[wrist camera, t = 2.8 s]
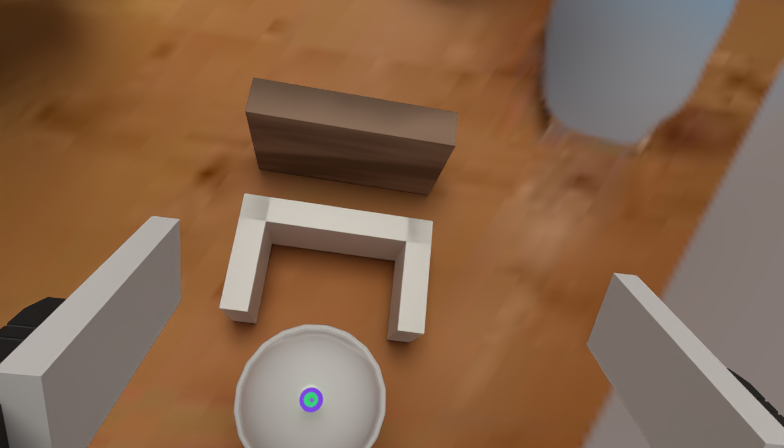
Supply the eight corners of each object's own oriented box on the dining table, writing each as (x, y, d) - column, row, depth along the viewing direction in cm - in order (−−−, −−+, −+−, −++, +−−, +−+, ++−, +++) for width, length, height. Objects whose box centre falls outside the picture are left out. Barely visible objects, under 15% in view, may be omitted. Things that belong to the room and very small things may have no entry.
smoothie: (320, 480, 39) (326, 552, 20) (237, 413, 40) (168, 423, 21) (384, 388, 42) (439, 378, 23) (305, 327, 43) (297, 269, 24)
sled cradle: (409, 342, 43) (424, 333, 38) (232, 320, 42) (219, 308, 36) (418, 243, 46) (432, 221, 41) (253, 219, 45) (244, 193, 39)
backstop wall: (428, 195, 48) (455, 145, 39) (259, 169, 47) (245, 111, 37) (430, 167, 49) (457, 112, 40) (265, 140, 48) (253, 77, 38)
